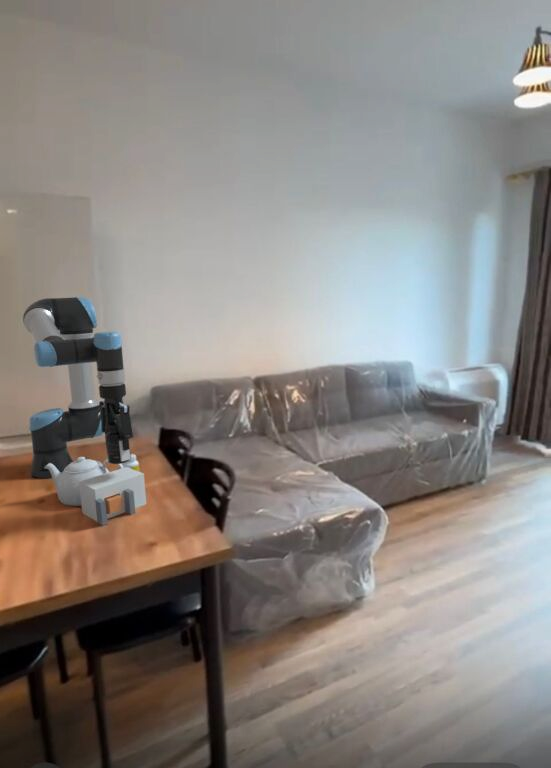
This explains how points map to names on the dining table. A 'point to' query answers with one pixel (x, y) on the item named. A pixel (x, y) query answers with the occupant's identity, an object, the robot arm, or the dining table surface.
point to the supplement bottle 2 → (132, 463)
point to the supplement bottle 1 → (113, 444)
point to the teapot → (75, 478)
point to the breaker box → (112, 493)
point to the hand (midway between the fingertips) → (119, 457)
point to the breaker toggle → (113, 504)
